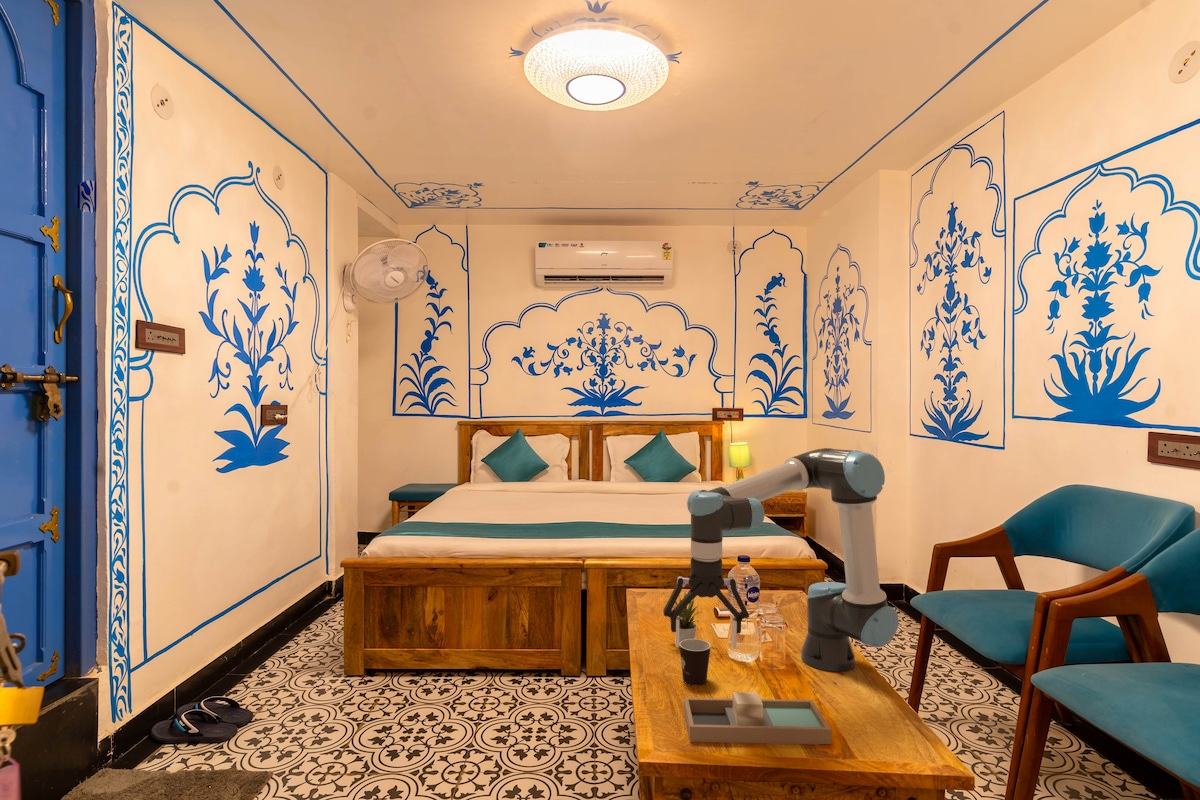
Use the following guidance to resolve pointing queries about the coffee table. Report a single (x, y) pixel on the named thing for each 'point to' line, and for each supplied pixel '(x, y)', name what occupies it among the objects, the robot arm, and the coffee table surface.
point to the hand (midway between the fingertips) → (705, 645)
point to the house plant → (686, 622)
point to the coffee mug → (694, 660)
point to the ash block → (747, 708)
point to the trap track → (779, 725)
